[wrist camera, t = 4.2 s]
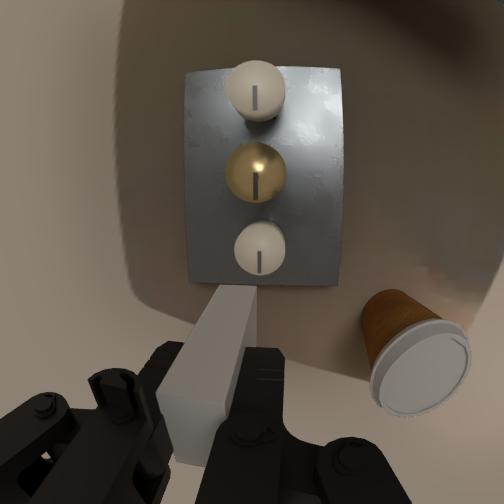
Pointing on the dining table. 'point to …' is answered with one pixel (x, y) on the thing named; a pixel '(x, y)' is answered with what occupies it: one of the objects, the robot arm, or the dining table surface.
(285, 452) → the robot arm
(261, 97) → the knob
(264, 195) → the brass pot knob
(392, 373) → the disposable coffee cup
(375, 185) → the dining table surface
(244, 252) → the knob
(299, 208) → the mount panel
